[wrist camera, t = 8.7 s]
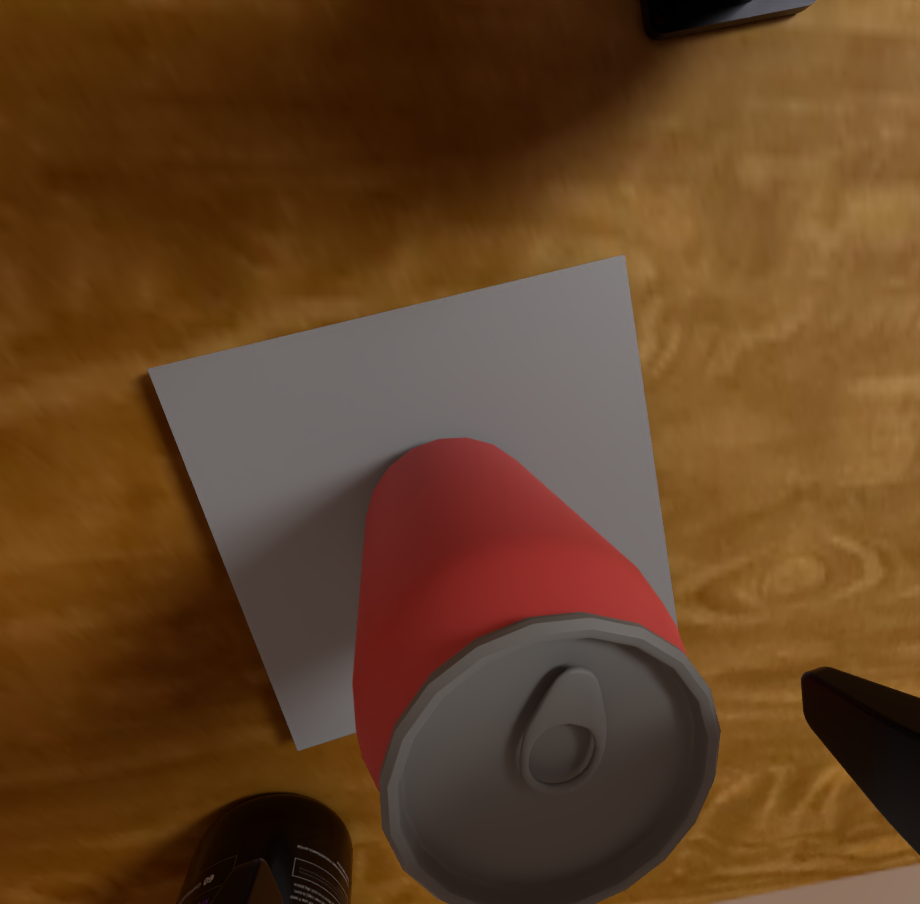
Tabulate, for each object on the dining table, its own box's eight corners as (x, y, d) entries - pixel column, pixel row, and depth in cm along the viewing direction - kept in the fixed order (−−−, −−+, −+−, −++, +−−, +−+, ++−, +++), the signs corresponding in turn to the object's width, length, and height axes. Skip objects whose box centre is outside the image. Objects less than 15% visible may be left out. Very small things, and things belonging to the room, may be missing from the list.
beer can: (547, 443, 19) (800, 600, 8) (520, 598, 21) (701, 933, 9) (375, 424, 18) (365, 576, 6) (358, 590, 19) (324, 965, 8)
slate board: (612, 258, 19) (624, 254, 18) (665, 617, 23) (677, 629, 22) (159, 367, 17) (147, 368, 16) (301, 732, 21) (297, 751, 20)
